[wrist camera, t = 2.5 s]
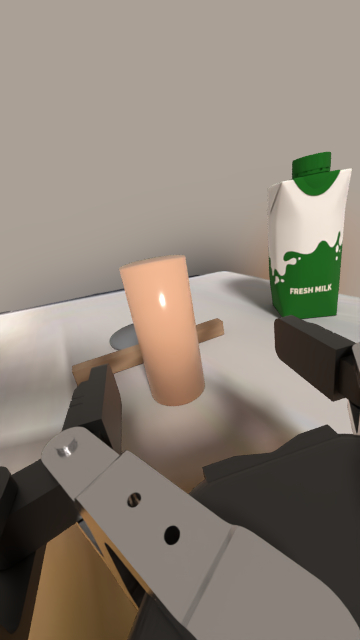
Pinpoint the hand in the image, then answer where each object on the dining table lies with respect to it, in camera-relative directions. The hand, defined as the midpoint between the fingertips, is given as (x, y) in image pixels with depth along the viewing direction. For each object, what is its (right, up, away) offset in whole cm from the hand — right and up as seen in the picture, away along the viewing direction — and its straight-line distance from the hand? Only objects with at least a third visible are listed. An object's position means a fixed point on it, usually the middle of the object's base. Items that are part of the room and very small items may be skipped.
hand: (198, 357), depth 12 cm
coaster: (-7, -1, +28) cm, 29 cm away
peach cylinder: (-1, -5, +14) cm, 15 cm away
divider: (-4, -3, +21) cm, 22 cm away
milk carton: (+18, +3, +27) cm, 32 cm away
